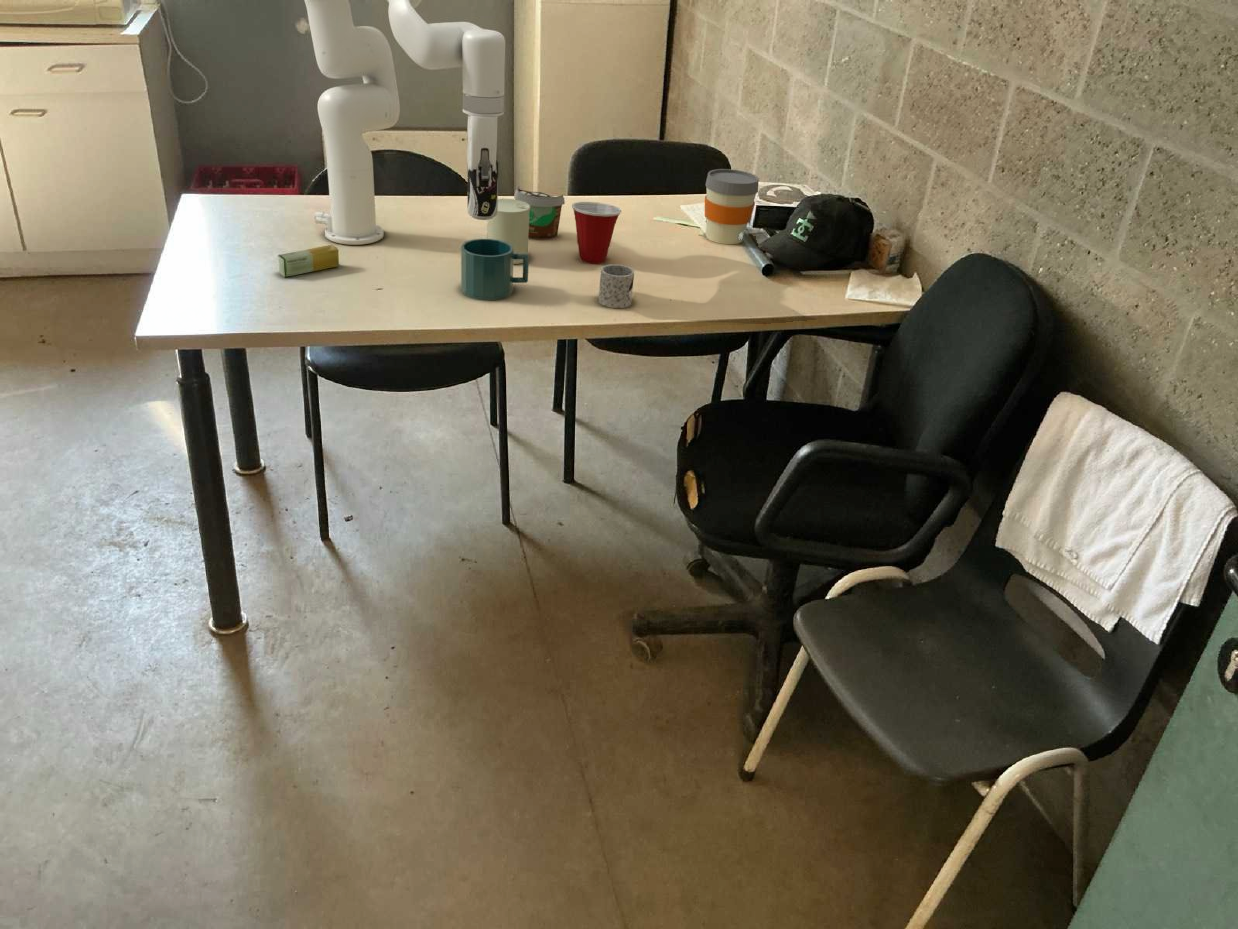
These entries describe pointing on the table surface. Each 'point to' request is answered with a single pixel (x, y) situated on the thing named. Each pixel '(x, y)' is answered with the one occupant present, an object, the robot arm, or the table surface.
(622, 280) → the mug
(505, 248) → the mug
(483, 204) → the beverage can
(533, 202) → the food container
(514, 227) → the can
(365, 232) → the robot arm
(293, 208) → the table surface
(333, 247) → the medication box
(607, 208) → the plastic cup
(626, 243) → the table surface
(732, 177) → the reusable coffee cup
